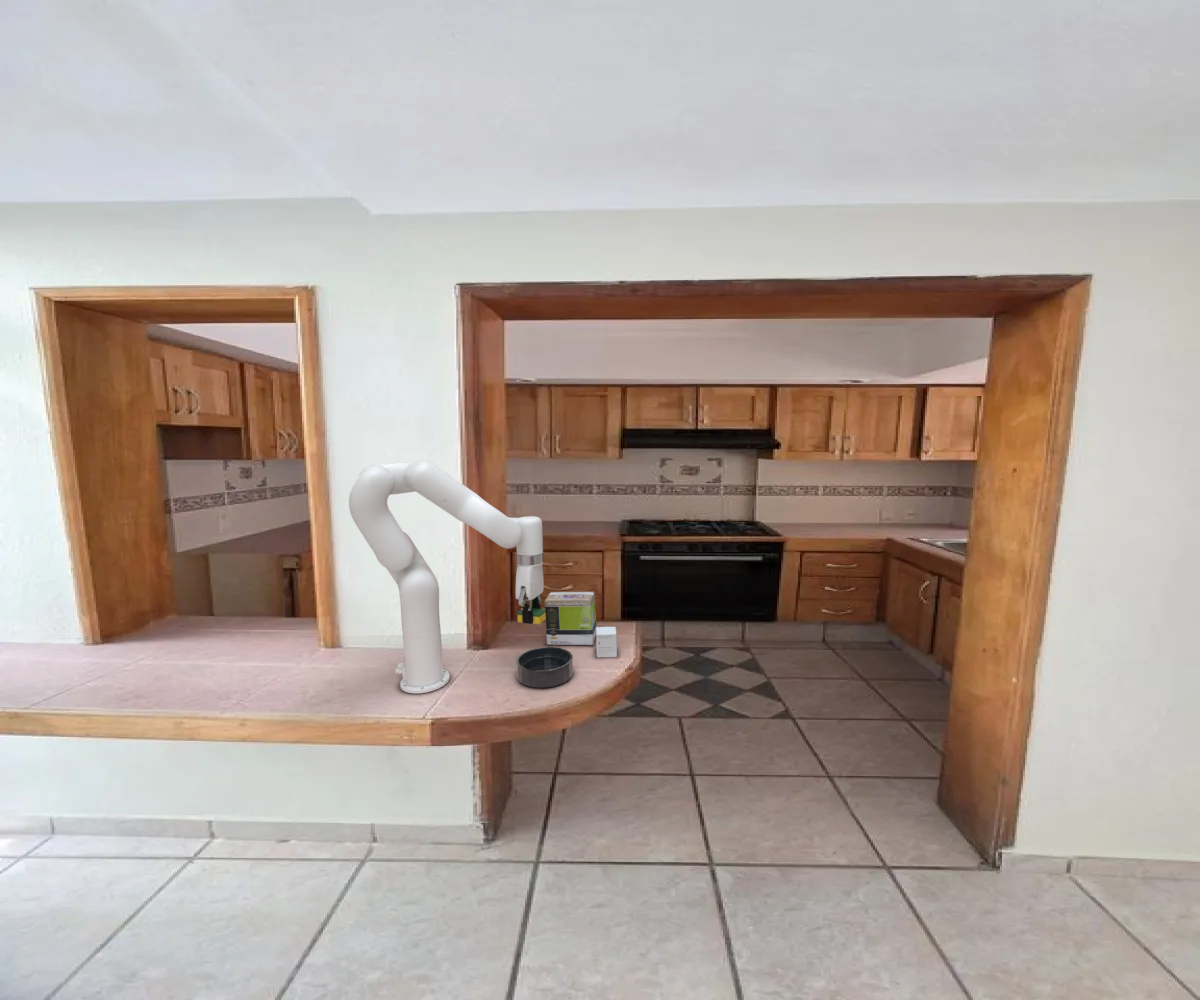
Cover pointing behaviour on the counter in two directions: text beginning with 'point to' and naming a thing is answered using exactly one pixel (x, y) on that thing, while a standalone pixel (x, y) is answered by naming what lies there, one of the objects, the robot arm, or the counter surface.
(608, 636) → the product box
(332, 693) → the counter surface
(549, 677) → the bowl
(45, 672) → the counter surface
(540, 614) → the sponge
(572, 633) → the tea box
